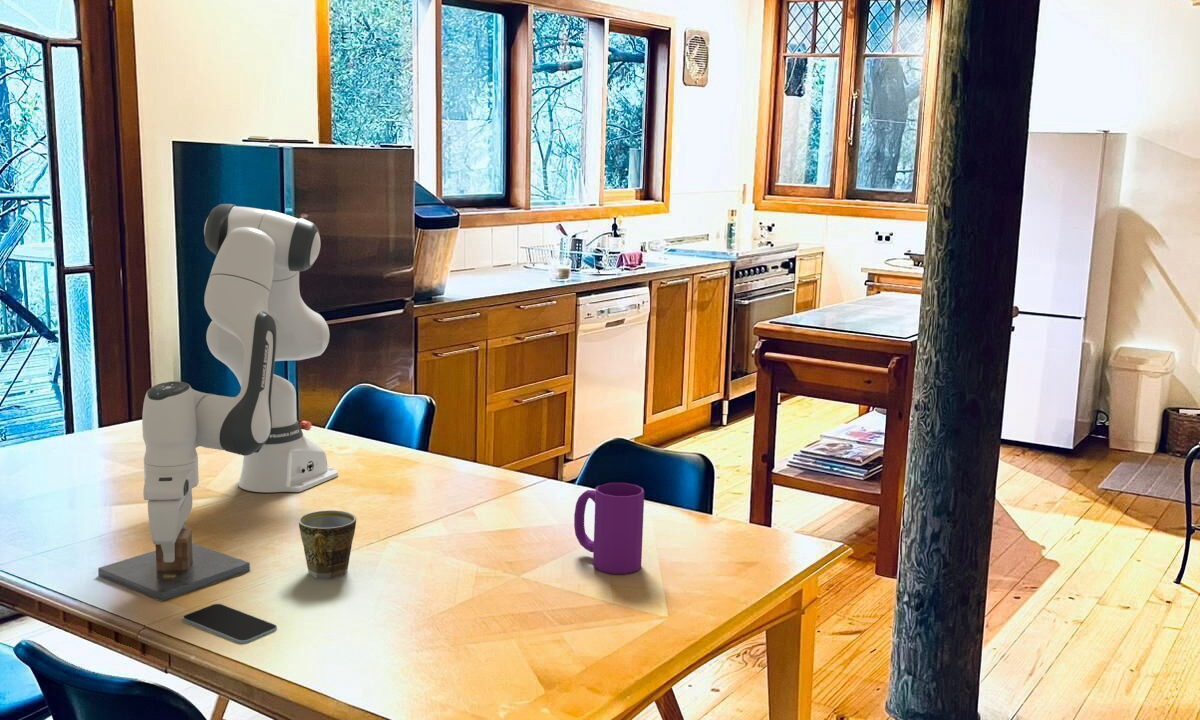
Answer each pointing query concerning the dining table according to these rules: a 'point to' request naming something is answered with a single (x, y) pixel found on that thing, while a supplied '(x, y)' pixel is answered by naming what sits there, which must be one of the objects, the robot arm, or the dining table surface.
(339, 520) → the ceramic cup
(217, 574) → the plate
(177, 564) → the taped cardboard carton
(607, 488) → the mug
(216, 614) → the smartphone
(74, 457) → the dining table surface
